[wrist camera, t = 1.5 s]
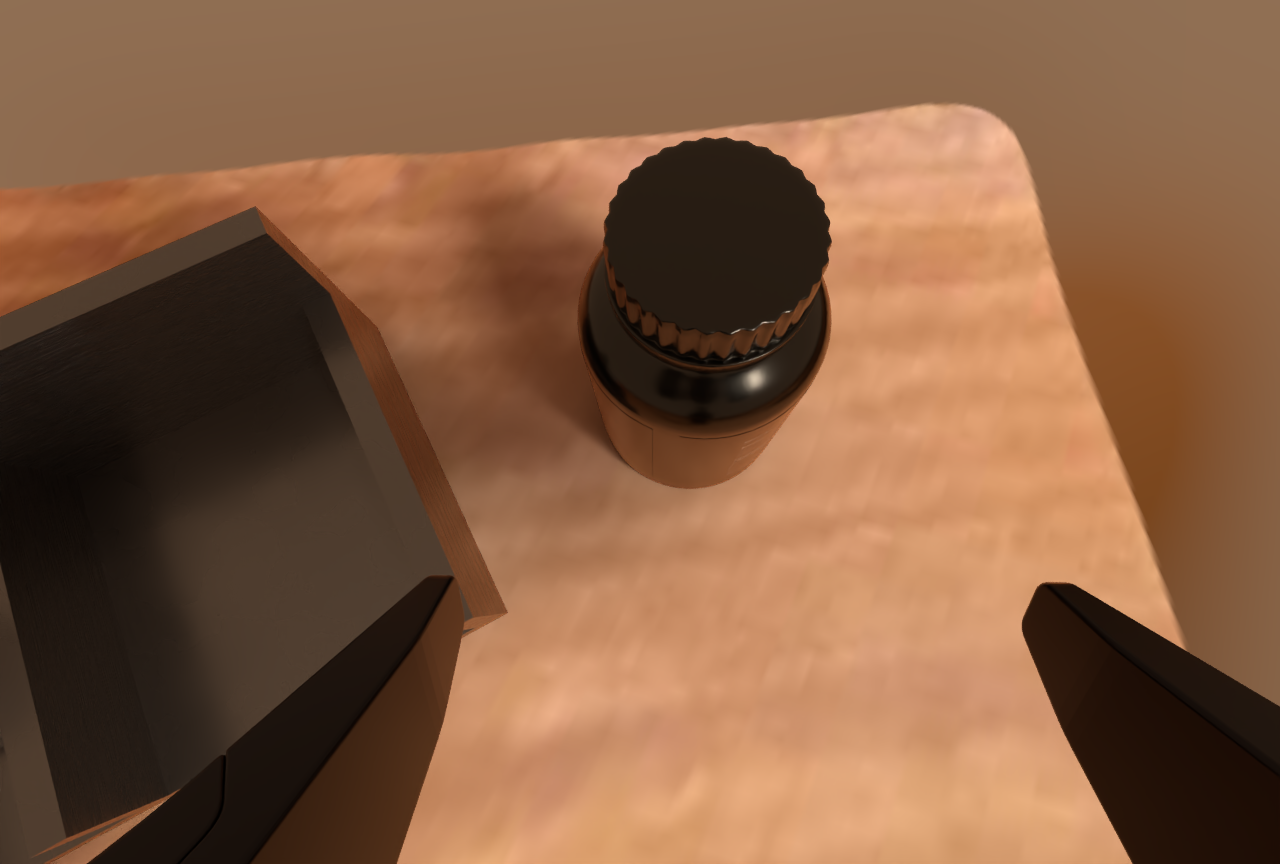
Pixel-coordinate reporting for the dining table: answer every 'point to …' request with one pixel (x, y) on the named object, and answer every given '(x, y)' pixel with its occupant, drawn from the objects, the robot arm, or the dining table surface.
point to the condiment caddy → (194, 519)
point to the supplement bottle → (706, 308)
